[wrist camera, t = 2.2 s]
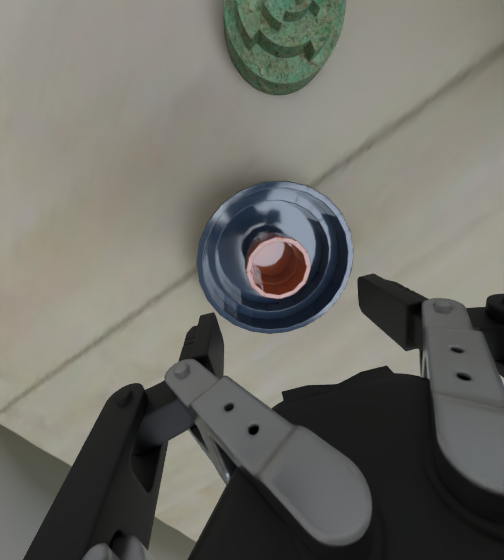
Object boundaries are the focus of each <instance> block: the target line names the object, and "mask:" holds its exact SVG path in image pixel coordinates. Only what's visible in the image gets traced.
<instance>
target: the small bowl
mask: <svg viewBox="0 0 504 560" xmlns="http://www.w3.org/2000/svg"><path fill="white" fill-rule="evenodd" d="M310 266H311V263H310V259H309V255H308V251H307V250H306V249H305V248H304V247H303V246H302V245H301V244H300V243H299V242H298V241H297V240H295V239H294V238H293V237H291V236H289V235H286V234H281V233H276V232H274V233H273V232H269V233H264V234H261V235H259V236H258V237H256V238H255V239H254V240H253V241H252V243H251V244H250V246H249V248H248V250H247V254H246V259H245V270H246V274H247V277H248V280H249V283H250V285H251V287H252V288H253V289H254V290H255V291H257V292H258V293H259V294H261V295H262V296H264V297H268V298H274V299H282V298H285V297H288V296H291V295H294V293H296V292H297V291H298V290H299V289H300V288H301V287H302V286H303V285H304V284H305V283H306V282H307V279H308V276H309V273H310V269H311V267H310Z"/></svg>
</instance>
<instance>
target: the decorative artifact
mask: <svg viewBox="0 0 504 560" xmlns="http://www.w3.org/2000/svg"><path fill="white" fill-rule="evenodd" d="M345 3H346V0H223V8H224V30H225V38H226V43H227V47H228V50H229V53H230V56H231V58H232V61H233V63H234V65H235V66H236V68H237V70H238V71H239V73H240V74H241V75H242V76H243V78H244V79H245V80H246V81H247V82H248V83H249V84H251V85H252V86H253V87H255V88H256V89H258V90H260V91H262V92H265V93H268V94H273V95H284V94H289V93H292V92H295V91H297V90H299V89H301V88H302V87H304V86H305V85H307V84H308V83H309V82H310V81H311V80H312V79H313V78H314V77H315V75H316V74H317V73H318V71H319V70H320V69H321V67H322V66H323V65H324V63H325V62H326V60H327V59H328V58H329V56H330V55H331V53H332V51H333V49H334V48H335V45H336V43H337V41H338V38H339V36H340V33H341V29H342V25H343V21H344V15H345Z"/></svg>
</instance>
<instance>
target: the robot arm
mask: <svg viewBox="0 0 504 560" xmlns="http://www.w3.org/2000/svg"><path fill="white" fill-rule="evenodd" d="M358 299H359V306H360V309H361V311H362V312H363V314H364V315H366V316H367V317H368V318H369V319H370V320H371V321H372V322H374V323H375V324H376V325H377V326H378V327H379V328H380V329H381V330H383V331H384V332H385V333H386V334H387V335H388V336H389V337H391V338H392V339H393V340H394V341H395V342H396V343H397V344H398V345H400V346H401V347H402V348H403V349H404V350H405V351H409V350H413V349H417V348H418V349H419V364H420V376H415V375H409V374H398V373H393V372H392V371H391V370H390V369H389V368H388V366H383V367H379V368H375V369H371V370H367V371H363V372H360V373H358V374H356V375H354V376H352V377H351V378H349V379H347V380H345V381H343V382H341V383H339V384H333V385H307V386H303V387H299V388H295V389H291V390H287V391H283V392H282V395H283V400H284V401H282V402H280V403H279V404H277V405H276V406H274V407H273V408H272V409H271V408H270V407H268V406H267V405H266V404H264V403H263V402H262V401H260V400H259V399H258V398H256V397H255V396H254V395H252V394H251V393H250V392H248V391H247V390H245V389H244V388H243V387H241V386H240V385H239V384H237V383H236V382H235V381H233V380H232V379H231V378H229V377H228V376H223V371H224V342H223V337H222V334H221V331H220V328H219V325H218V322H217V318H216V315H215V313H214V312H213V313H209V314H205V315H201V316H200V318H199V323H198V325H197V326H193V327H192V328H191V329H190V330H189V331H188V333H187V335H186V338H185V342H184V346H183V348H182V352H181V355H180V358H179V362H177V363H176V364H174V365H173V366H172V367H171V368H169V370H168V371H167V372H166V374H165V380H164V381H163V382H161V383H159V384H157V385H155V386H153V387H151V388H149V389H146V390H144V388H143V386H142V385H141V384H139V383H133V384H129V385H127V386H124V387H123V388H121V389H119V390H118V391H116V392H115V393H114V394H113V395H112V396H111V397H110V398H109V399H108V400H107V402H106V403H105V405H104V407H103V409H102V411H101V413H100V415H99V417H98V419H97V420H96V422H95V424H94V426H93V428H92V430H91V432H90V434H89V436H88V437H87V439H86V441H85V443H84V445H83V447H82V449H81V451H80V453H79V454H78V456H77V458H76V460H75V462H74V464H73V466H72V468H71V470H70V472H69V474H68V475H67V478H66V480H65V481H64V483H63V485H62V487H61V489H60V491H59V492H58V494H57V496H56V498H55V500H54V502H53V504H52V506H51V508H50V510H49V511H48V513H47V515H46V517H45V519H44V521H43V523H42V525H41V527H40V528H39V530H38V532H37V534H36V536H35V538H34V540H33V542H32V543H31V545H30V547H29V549H28V551H27V553H26V555H25V557H24V559H23V560H154V559H153V557H152V556H151V555H150V553H149V552H148V547H149V542H150V536H151V531H152V526H153V520H154V515H155V510H156V504H157V499H158V494H159V488H160V483H161V478H162V472H163V467H164V462H165V456H166V451H167V446H168V441H169V440H170V439H172V438H174V437H176V436H177V435H179V434H181V433H183V432H184V431H186V430H188V431H189V432H190V433H191V435H192V436H193V437H194V439H195V440H196V441H197V443H198V444H199V445H200V447H201V448H202V449H203V451H204V452H205V453H206V455H207V456H208V457H209V459H210V460H211V461H212V463H213V464H214V466H215V468H216V470H217V471H218V473H219V475H220V476H221V478H222V479H223V481H224V482H225V484H226V485H227V486H226V488H225V489H224V491H223V493H222V495H221V497H220V499H219V501H218V503H217V505H216V507H215V508H214V510H213V512H212V514H211V516H210V518H209V520H208V522H207V524H206V526H205V527H204V529H203V531H202V533H201V535H200V537H199V539H198V541H197V543H196V545H195V547H194V548H193V550H192V552H191V554H190V556H189V558H188V560H504V385H503V382H502V380H501V377H500V375H501V376H502V377H504V294H495V295H491V296H489V297H488V298H487V301H486V307H476V308H466V307H465V306H464V305H463V304H461V303H459V302H457V301H454V300H450V299H444V298H433V299H427V298H425V297H423V296H422V295H420V294H418V293H416V292H414V291H412V290H411V291H410V289H408V288H406V287H404V286H402V285H400V284H399V283H397V282H393V281H389V280H385V279H383V278H381V277H379V276H377V275H375V274H369V275H365V276H361V277H359V278H358ZM499 374H500V375H499Z"/></svg>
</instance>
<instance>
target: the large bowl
mask: <svg viewBox="0 0 504 560" xmlns="http://www.w3.org/2000/svg"><path fill="white" fill-rule="evenodd" d="M269 232H273V233H274V232H276V233H281V234H286V235H289V236H291V237H293V238H294V239H295V240H297V241H298V242H299V243H300V244H301V245H302V246H303V247H304V248H305V249H306V250H307V251H308V255H309V259H310V263H311V266H310V267H311V269H310V273H309V276H308V279H307V282H306V283H305V284H304V285H303V286H302V287H301V288H300V289H299V290H298V291H297V292H296V293H294V295H291V296H288V297H285V298H282V299H274V298H268V297H264V296H262V295H261V294H259V293H258V292H257V291H255V290H254V289H253V288H252V287H251V285H250V283H249V280H248V277H247V274H246V270H245V259H246V254H247V250H248V248H249V246H250V244H251V243H252V241H253V240H254V239H255V238H256V237H258V236H259V235H261V234H264V233H269ZM352 261H353V244H352V238H351V232H350V229H349V227H348V225H347V223H346V221H345V219H344V217H343V215H342V213H341V211H340V210H339V209H338V208H337V207H336V206H335V205H334V204H333V203H332V202H331V201H330V199H329V198H328V197H326V196H325V195H323V194H321V193H320V192H318V191H316V190H314V189H313V188H311V187H309V186H306V185H302V184H298V183H293V182H289V181H277V182H263V183H260V184H257V185H254V186H251V187H249V188H246V189H243V190H240V191H239V192H237V193H236V194H234V195H233V196H232V197H230V198H229V199H227V200H226V201H225V202H223V204H222V205H221V206H220V207H219V209H218V210H217V211H216V212H215V213H214V215H213V216H212V217H211V218H210V220H209V221H208V223H207V225H206V227H205V230H204V232H203V234H202V237H201V239H200V242H199V248H198V256H197V268H198V275H199V282H200V284H201V287H202V289H203V291H204V293H205V296H206V298H207V300H208V301H209V302H210V304H211V305H212V306H213V307H214V308H215V310H216V311H217V312H218V313H219V314H220V315H221V316H222V317H224V318H225V319H227V320H228V321H229V322H231V323H232V324H234V325H236V326H239V327H241V328H244V329H246V330H249V331H252V332H260V333H268V334H272V333H282V332H289V331H292V330H295V329H298V328H301V327H304V326H306V325H308V324H309V323H311V322H313V321H314V320H316V319H318V318H319V317H321V316H322V315H323V314H324V313H325V312H326V311H327V310H328V309H329V308H330V307H331V306H332V305H334V303H335V302H336V301H337V299H338V298H339V296H340V295H341V293H342V292H343V290H344V289H345V287H346V284H347V281H348V278H349V276H350V273H351V269H352Z"/></svg>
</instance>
